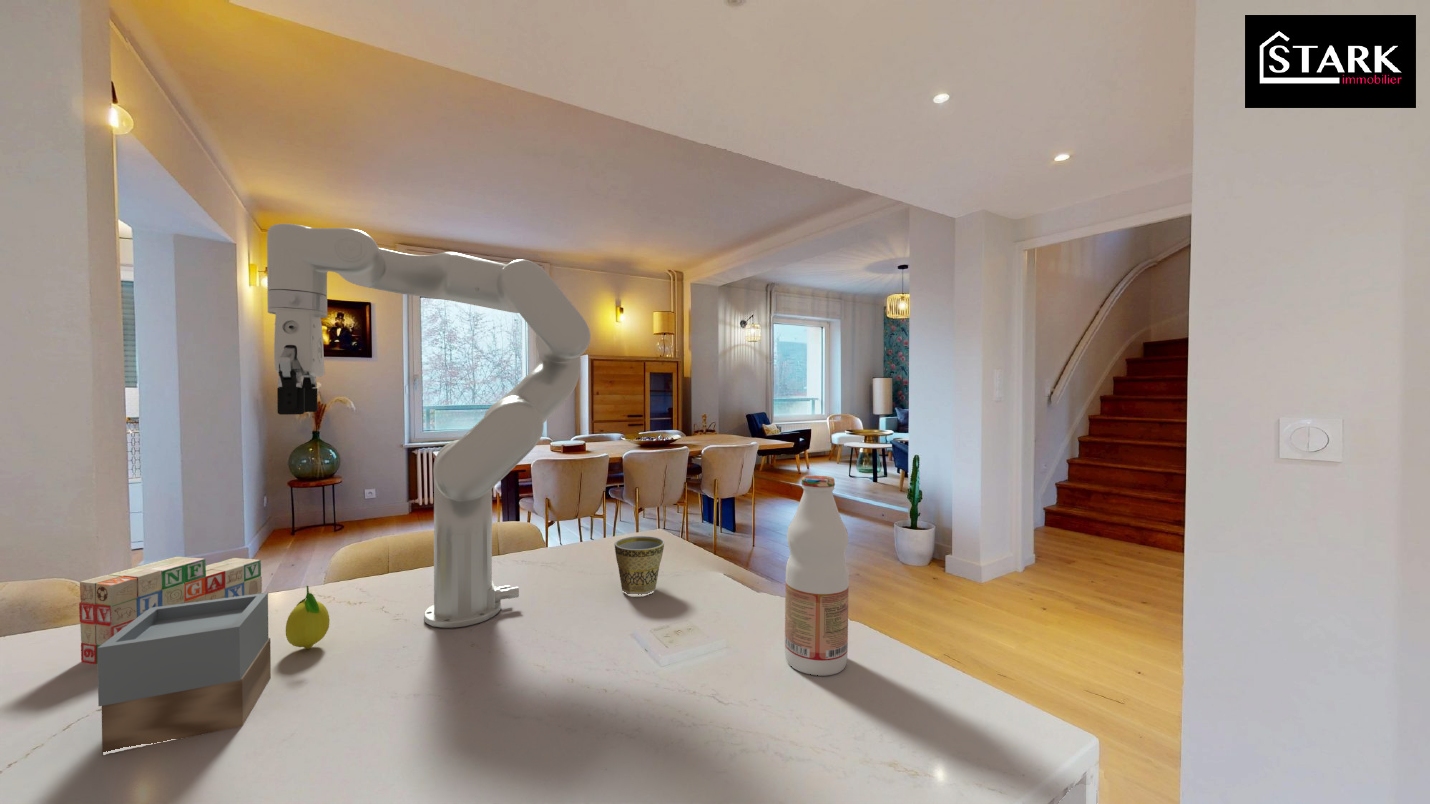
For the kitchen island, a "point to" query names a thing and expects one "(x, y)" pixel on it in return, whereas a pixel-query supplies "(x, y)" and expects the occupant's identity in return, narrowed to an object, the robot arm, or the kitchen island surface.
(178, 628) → the tower top block
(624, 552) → the ceramic cup
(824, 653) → the fruit juice
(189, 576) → the stack of blocks
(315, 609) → the lemon
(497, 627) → the kitchen island surface
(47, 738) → the kitchen island surface
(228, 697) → the tower base block
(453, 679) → the kitchen island surface
